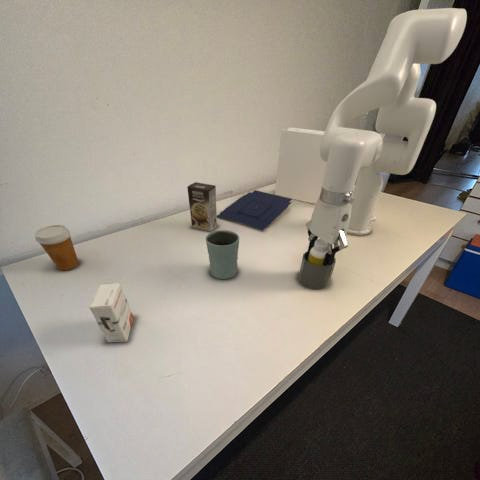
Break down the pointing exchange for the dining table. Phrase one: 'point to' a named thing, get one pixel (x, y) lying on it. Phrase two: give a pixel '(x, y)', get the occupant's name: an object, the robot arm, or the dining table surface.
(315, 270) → the steel cup
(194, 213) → the coffee box
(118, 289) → the ink box
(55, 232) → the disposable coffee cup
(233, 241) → the teal cup
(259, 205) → the folded navy cloth
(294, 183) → the block
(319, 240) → the pill bottle
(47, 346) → the dining table surface
